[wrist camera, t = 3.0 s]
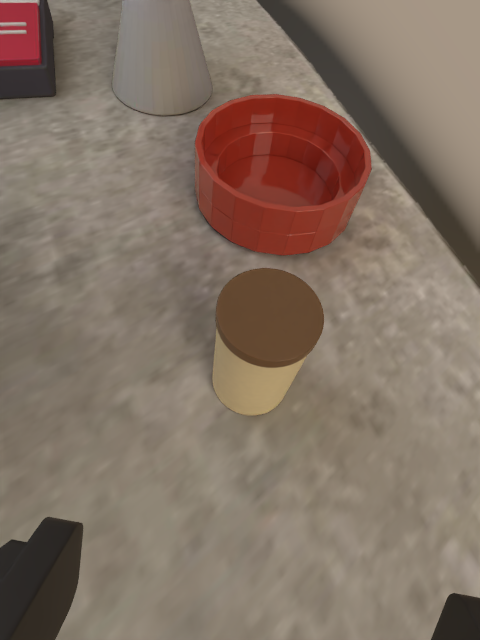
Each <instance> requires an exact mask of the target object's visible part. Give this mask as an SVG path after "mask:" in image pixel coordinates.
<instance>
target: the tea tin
mask: <svg viewBox="0 0 480 640" xmlns="http://www.w3.org/2000/svg"><path fill="white" fill-rule="evenodd" d="M323 325H324V314H323V309H322V306H321V303H320V301H319V299H318V297H317V295H316V294H315V292H314V291H313V290H312V289H311V287H310V286H308V285H307V284H306V283H305V282H304V281H303V280H301V279H300V278H298V277H296V276H295V275H292V274H290V273H288V272H285V271H282V270H278V269H271V268H260V269H253V270H249V271H246V272H243V273H241V274H239V275H237V276H236V277H234V278H233V279H232V280H230V281H229V282H228V283H227V284H226V285H225V287H224V288H223V290H222V291H221V293H220V295H219V298H218V301H217V306H216V326H217V328H216V340H215V352H214V363H213V375H212V381H213V387H214V390H215V392H216V395H217V396H218V398H219V399H220V401H221V402H222V403H223V404H224V405H225V406H226V407H228V408H229V409H231V410H232V411H234V412H237V413H239V414H243V415H261V414H264V413H267V412H269V411H271V410H272V409H274V408H275V407H276V406H277V405H278V404H279V403H280V402H281V401H282V399H283V398H284V396H285V394H286V392H287V391H288V389H289V387H290V385H291V383H292V382H293V380H294V378H295V376H296V374H297V373H298V371H299V369H300V367H301V366H302V364H303V362H304V360H305V358H306V357H307V355H308V354H309V353H310V352H311V351H312V349H313V348H314V346H315V345H316V343H317V341H318V339H319V337H320V335H321V333H322V330H323Z"/></svg>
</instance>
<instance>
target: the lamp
mask: <svg viewBox="0 0 480 640" xmlns="http://www.w3.org/2000/svg"><path fill="white" fill-rule="evenodd" d="M112 89H113V91H114V93H115V95H116V96H117V97H118V98H119V100H120V101H122V102H123V103H124V104H126V105H127V106H129V107H131V108H133V109H134V110H137V111H140V112H143V113H147V114H152V115H162V116H168V115H179V114H184V113H187V112H190V111H193V110H195V109H197V108H199V107H200V106H202V105H203V104H204V103H205V102H206V101H207V100H208V99H209V97H210V96H211V93H212V82H211V79H210V75H209V71H208V67H207V64H206V60H205V56H204V53H203V49H202V45H201V41H200V38H199V34H198V30H197V27H196V23H195V19H194V15H193V12H192V8H191V4H190V1H189V0H123V4H122V11H121V19H120V26H119V33H118V41H117V48H116V56H115V63H114V71H113V78H112Z"/></svg>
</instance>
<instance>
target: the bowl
mask: <svg viewBox="0 0 480 640" xmlns="http://www.w3.org/2000/svg"><path fill="white" fill-rule="evenodd" d="M371 169H372V168H371V157H370V150H369V148H368V146H367V144H366V143H365V141H364V139H363V137H362V135H361V134H360V132H359V131H357V130H356V129H355V128H354V127H353V126H352V125H351V124H350V123H349V122H348V121H347V120H346V119H345V118H344V117H342V116H340V115H338V114H337V113H335V112H333V111H332V110H330V109H328V108H326V107H325V106H322V105H319V104H316V103H314V102H311V101H308V100H305V99H302V98H297V97H291V96H284V95H278V94H268V95H250V96H246V97H242V98H238V99H234V100H230V101H228V102H226V103H224V104H223V105H221V106H219V107H217V108H216V109H214V110H212V111H211V112H210V113H209V114H208V116H207V117H206V118H205V119H204V120H203V121H202V123H201V124H200V125H199V128H198V132H197V136H196V140H195V192H196V197H197V201H198V206H199V209H200V211H201V212H202V214H203V215H204V217H205V218H206V220H207V221H208V222H209V224H210V225H211V226H212V228H214V229H215V230H216V231H218V232H219V233H220V234H222V235H223V236H224V237H225V238H227V239H228V240H229V241H231V242H233V243H235V244H238V245H240V246H243V247H245V248H248V249H250V250H253V251H256V252H262V253H269V254H276V255H292V254H301V253H309V252H311V251H314V250H316V249H319V248H321V247H323V246H326V245H328V244H330V243H331V242H332V241H333V240H334V239H335V238H336V237H337V236H339V235H340V234H341V233H342V232H343V231H344V230H345V228H346V226H347V223H348V221H349V219H350V217H351V215H352V212H353V210H354V208H355V206H356V204H357V202H358V199H359V197H360V195H361V193H362V191H363V188H364V186H365V184H366V181H367V179H368V177H369V174H370V172H371Z"/></svg>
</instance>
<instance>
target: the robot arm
mask: <svg viewBox="0 0 480 640" xmlns="http://www.w3.org/2000/svg"><path fill="white" fill-rule="evenodd" d="M82 537H83V524H82V523H79V522H73V521H68V520H63V519H57V518H52V517H46V518H45V519H44V520H43V521H42V522H41V524H40V525H39V526H38V528H37V529H36V531H35V532H34V533H33V535H32V536H31V538H30V539H29V540H28V542H23V541H17V540H10V541H9V542H8V543H6V544H5V545H3V546H2V547H1V548H0V640H55V639H56V637H57V635H58V632H59V630H60V628H61V626H62V624H63V622H64V620H65V618H66V616H67V614H68V612H69V609H70V607H71V604H72V601H73V599H74V595H75V592H76V588H77V584H78V579H79V569H80V558H81V548H82ZM431 640H480V598H477V597H472V596H467V595H461V594H456V593H453V594H451V595H449V597H448V598H447V600H446V603H445V605H444V608H443V610H442V613H441V616H440V618H439V621H438V623H437V626H436V628H435V631H434V633H433V636H432V639H431Z"/></svg>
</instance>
